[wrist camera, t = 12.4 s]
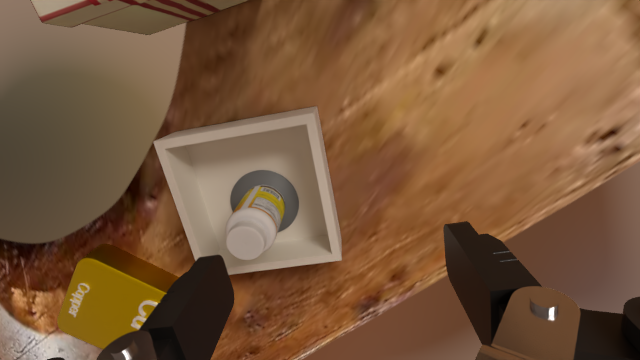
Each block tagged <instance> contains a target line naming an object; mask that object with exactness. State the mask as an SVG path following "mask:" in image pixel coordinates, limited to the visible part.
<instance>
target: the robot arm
mask: <svg viewBox="0 0 640 360" xmlns="http://www.w3.org/2000/svg"><path fill="white" fill-rule="evenodd" d="M444 243H445V258H446V268H447V272H448V276H449V279H450V282H451V283H452V286H453V288H454V290H455V292H456V294H457V296H458V298H459V300H460V302H461V304H462V305H463V307H464V309H465V311H466V313H467V315H468V317H469V319H470V321H471V323H472V325H473V327H474V329H475V331H476V333H477V335H478V337H479V339H480V341H481V343H482V346H481V348H480V350H479V352H478V354H477V357H476V359H475V360H640V297H636V298H632V299H630V300H628V301H627V302H626V303H625V305H624V309H623V314H618V313H609V312H599V311H592V310H585V309H581V308H579V307H578V305H577V304H576V303H575V302H574V301H573V300H572V299H571V298H570V297H568V296H566V295H565V294H563V293H561V292H559V291H556V290H553V289H550V288H546V287H542V286H541V285H540V284H539V283H538V282H537V280H536V279H535V278H534V277H533V276H532V275H531V274H530V273H529V271H528V270H527V269H526V268H525V267H524V266H523V265H522V264H521V263H520V261H519V260H517V258H516V257H515V256H514V255H513V254H512V253H511V252H510V251H509V249H508V248H507V247H506V246H505V245H504V244H503V242H502V241H500V240H499V239H497V238H495V237H493V236H491V235H489V234H480V235H478V233H477V232H476V231H475V230H474V228H473V227H472V226H471V225H470V223H469V222H467V221H466V222H459V223H451V224H445V225H444ZM166 293H167V294H165V295H164V296H163V298H162V299H161V300H160V303H158V304H157V306H156V307H155V308H154V310H153V311H152V312H151V314H150V315H149V317H148V318H147V319H146V321H145V322H144V323H143V325H142V326H141V327H140V329H139V330H138V331H133V332H130V333H127V334H125V335H123V336H121V337H119V338H117V339H116V340H114V341H113V342H111V343H110V344H109V345H108V346H106V347H105V348H104V349H103V350H102V352H101V353H100V354H99V356H98V357H97V360H210V359H211V357H212V354H213V352H214V350H215V347H216V345H217V343H218V340H219V338H220V336H221V333H222V331H223V329H224V326H225V324H226V322H227V319H228V317H229V315H230V312H231V310H232V307H233V304H234V291H233V287H232V284H231V281H230V278H229V275H228V272H227V268H226V265H225V262H224V259H223V257H222V256H221V255H211V256H204V257H199V258H198V259H197V260H196V261H195V263H194V264H193V266H192V267H191V269H190V270H189V271H188V272H186V273H185V274H183V275H182V276H181V277H180V278H178V279H177V280H176V281H175V282H174V283H173V284H172V285H171V287H170V288H169V289H168V291H167V292H166ZM47 360H65V359H63V358H59V357H57V358H51V359H47Z"/></svg>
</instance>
